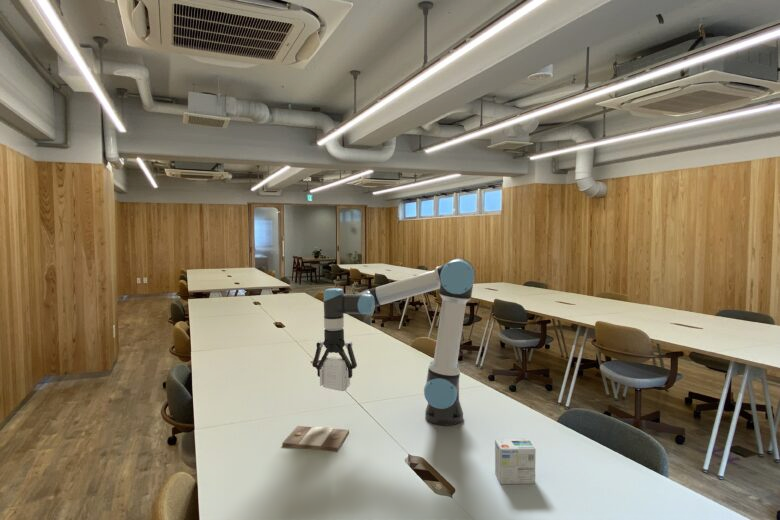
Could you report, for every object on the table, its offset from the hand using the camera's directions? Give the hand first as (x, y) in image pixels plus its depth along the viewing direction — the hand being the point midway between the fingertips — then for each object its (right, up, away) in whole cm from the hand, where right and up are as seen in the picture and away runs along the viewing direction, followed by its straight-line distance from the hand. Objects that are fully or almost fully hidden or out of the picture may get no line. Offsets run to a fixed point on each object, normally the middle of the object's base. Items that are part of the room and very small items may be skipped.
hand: (335, 385), depth 170 cm
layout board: (-5, -15, -14) cm, 21 cm away
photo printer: (0, -1, 0) cm, 1 cm away
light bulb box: (+59, -17, -39) cm, 73 cm away
